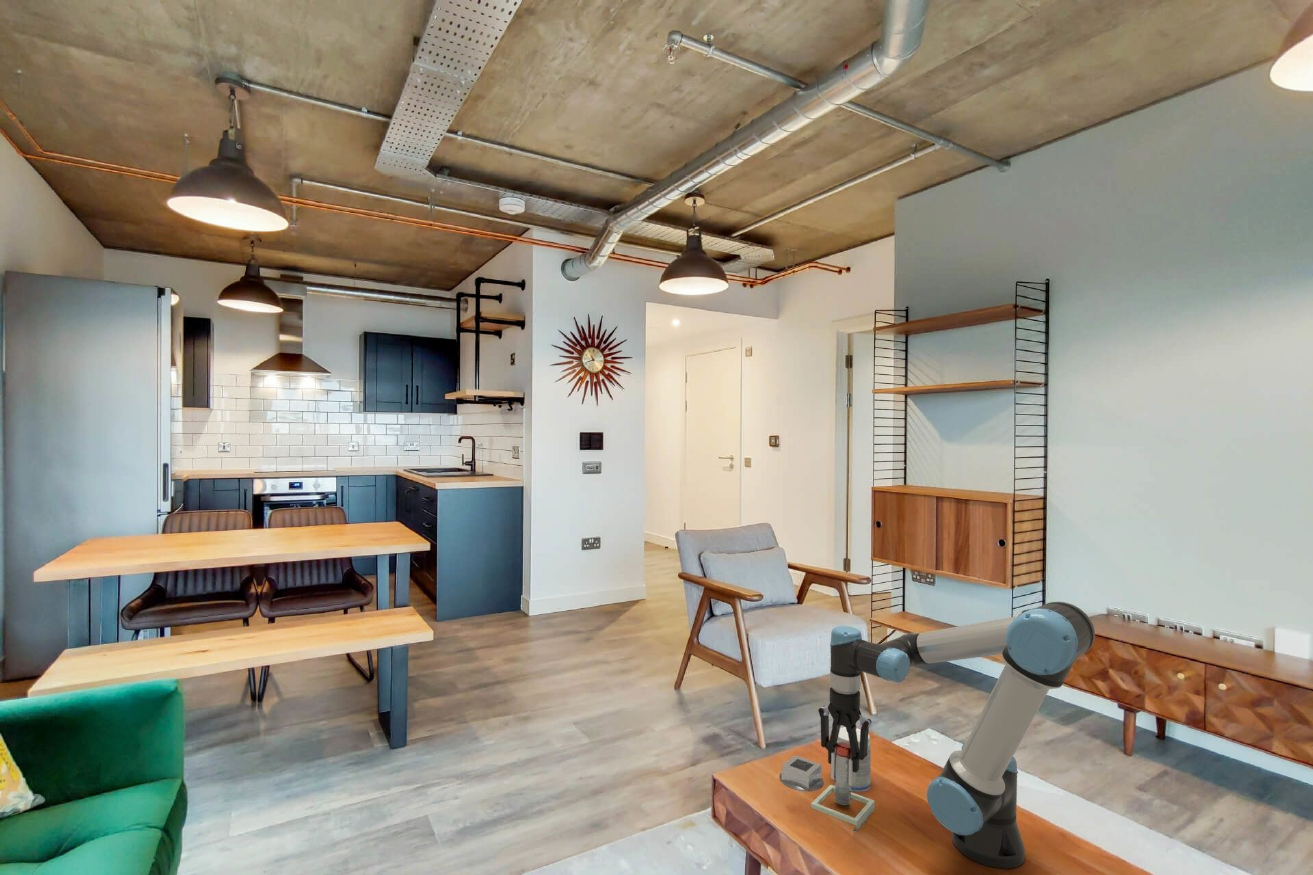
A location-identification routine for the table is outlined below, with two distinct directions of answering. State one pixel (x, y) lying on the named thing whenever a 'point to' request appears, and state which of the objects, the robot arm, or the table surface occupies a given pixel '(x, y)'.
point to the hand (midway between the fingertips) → (843, 779)
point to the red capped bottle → (842, 773)
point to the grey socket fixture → (801, 774)
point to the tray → (857, 821)
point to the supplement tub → (864, 765)
